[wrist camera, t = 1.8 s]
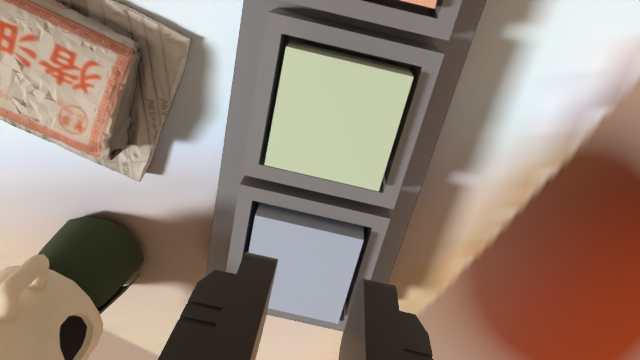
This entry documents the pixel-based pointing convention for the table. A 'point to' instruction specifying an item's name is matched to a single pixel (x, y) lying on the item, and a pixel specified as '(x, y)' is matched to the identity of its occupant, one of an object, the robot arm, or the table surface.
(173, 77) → the packaged product
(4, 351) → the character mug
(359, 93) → the sage button
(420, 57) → the button panel
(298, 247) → the slate button
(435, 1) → the terracotta button
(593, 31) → the table surface
